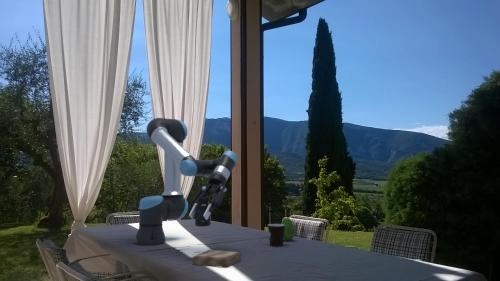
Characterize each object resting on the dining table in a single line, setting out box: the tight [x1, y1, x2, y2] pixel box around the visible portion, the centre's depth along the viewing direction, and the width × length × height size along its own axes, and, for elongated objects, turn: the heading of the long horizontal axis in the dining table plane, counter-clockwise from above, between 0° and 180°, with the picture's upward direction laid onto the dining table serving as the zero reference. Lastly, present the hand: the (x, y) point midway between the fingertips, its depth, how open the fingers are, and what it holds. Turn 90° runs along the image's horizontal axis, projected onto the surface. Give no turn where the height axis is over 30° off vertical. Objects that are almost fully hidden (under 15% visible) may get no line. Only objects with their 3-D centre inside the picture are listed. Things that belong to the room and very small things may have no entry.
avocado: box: [281, 217, 296, 242], centre depth 232 cm, size 8×8×12 cm
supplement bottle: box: [194, 196, 212, 227], centre depth 189 cm, size 7×7×12 cm
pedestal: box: [192, 249, 242, 268], centre depth 179 cm, size 15×15×3 cm
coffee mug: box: [267, 223, 285, 247], centre depth 220 cm, size 12×9×10 cm
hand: (198, 217), depth 186 cm, fingers closed on supplement bottle, 7 cm apart
